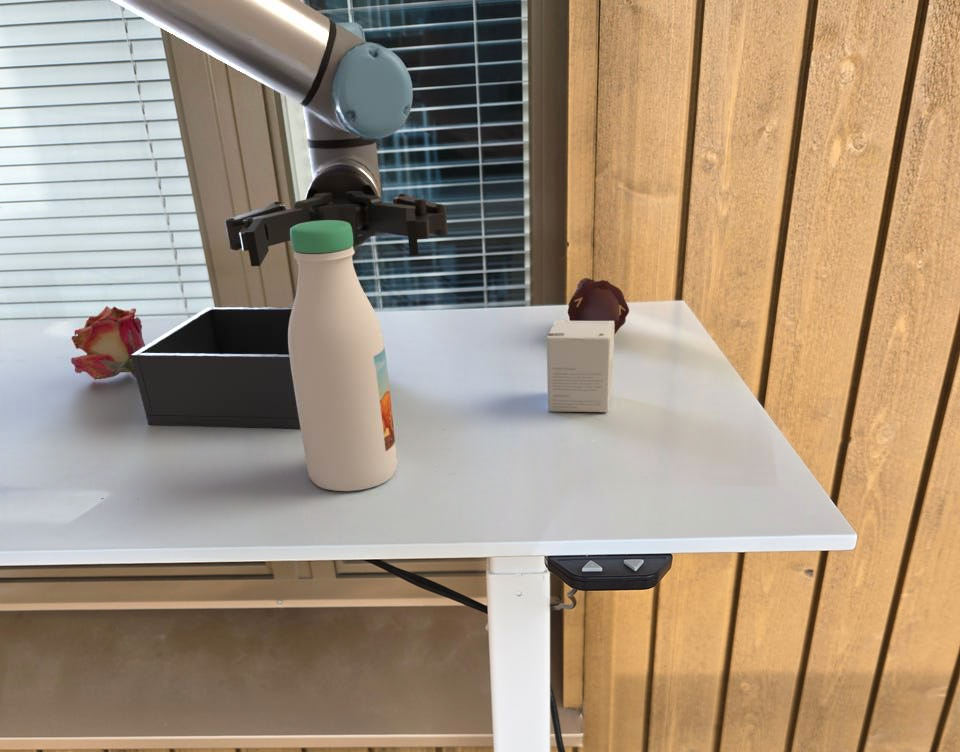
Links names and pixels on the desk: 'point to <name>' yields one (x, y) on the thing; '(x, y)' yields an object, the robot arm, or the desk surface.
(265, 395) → the black open box
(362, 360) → the milk bottle
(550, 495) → the desk surface
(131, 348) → the flower
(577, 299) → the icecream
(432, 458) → the desk surface
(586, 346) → the white cardboard box
